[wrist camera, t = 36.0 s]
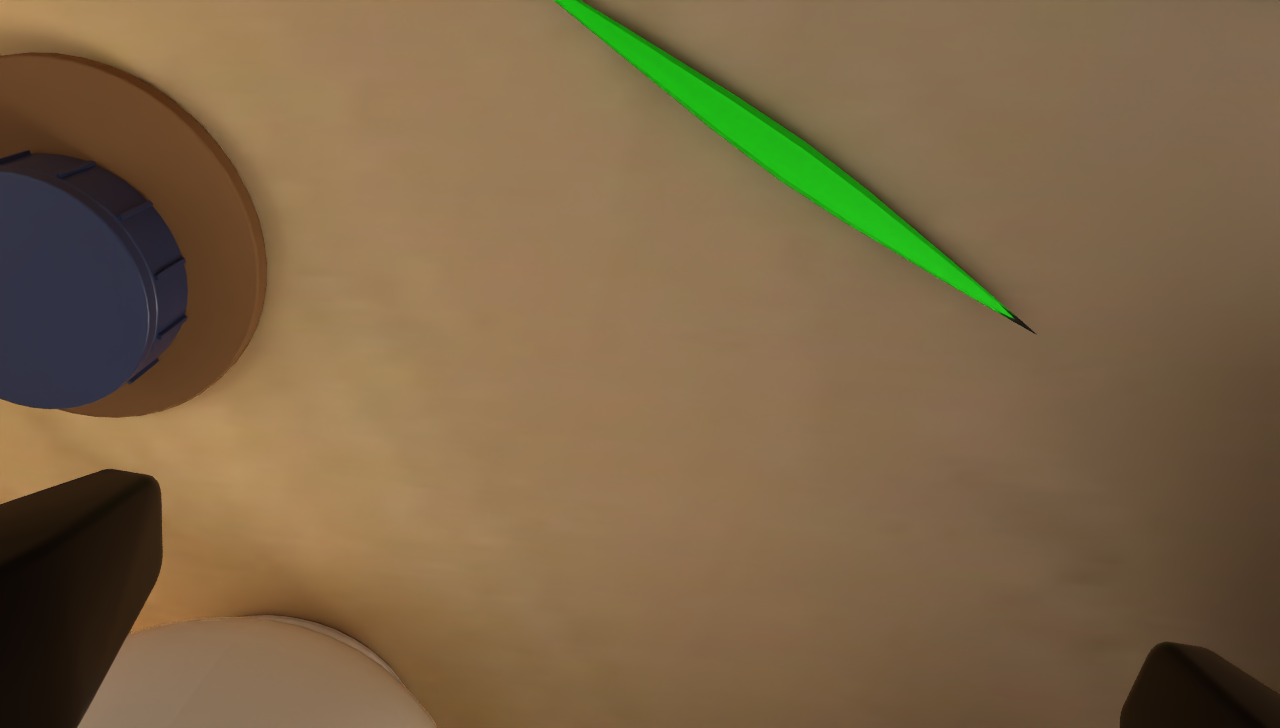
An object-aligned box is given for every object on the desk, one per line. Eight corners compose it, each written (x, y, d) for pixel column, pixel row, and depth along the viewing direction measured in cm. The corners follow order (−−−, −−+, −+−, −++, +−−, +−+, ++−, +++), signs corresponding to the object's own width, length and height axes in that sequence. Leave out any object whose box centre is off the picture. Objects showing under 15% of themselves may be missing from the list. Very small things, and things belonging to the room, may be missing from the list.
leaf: (1016, 344, 21) (1029, 358, 21) (474, -38, 19) (466, -38, 18) (1045, 312, 21) (1058, 325, 20) (498, -81, 18) (491, -82, 18)
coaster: (230, 453, 23) (221, 463, 23) (-114, 341, 22) (-131, 349, 22) (303, 136, 20) (294, 140, 20) (-91, -9, 19) (-110, -8, 19)
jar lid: (42, 405, 22) (-7, 440, 20) (-96, 202, 20) (-162, 223, 19) (232, 334, 21) (196, 364, 20) (105, 116, 19) (55, 130, 18)
